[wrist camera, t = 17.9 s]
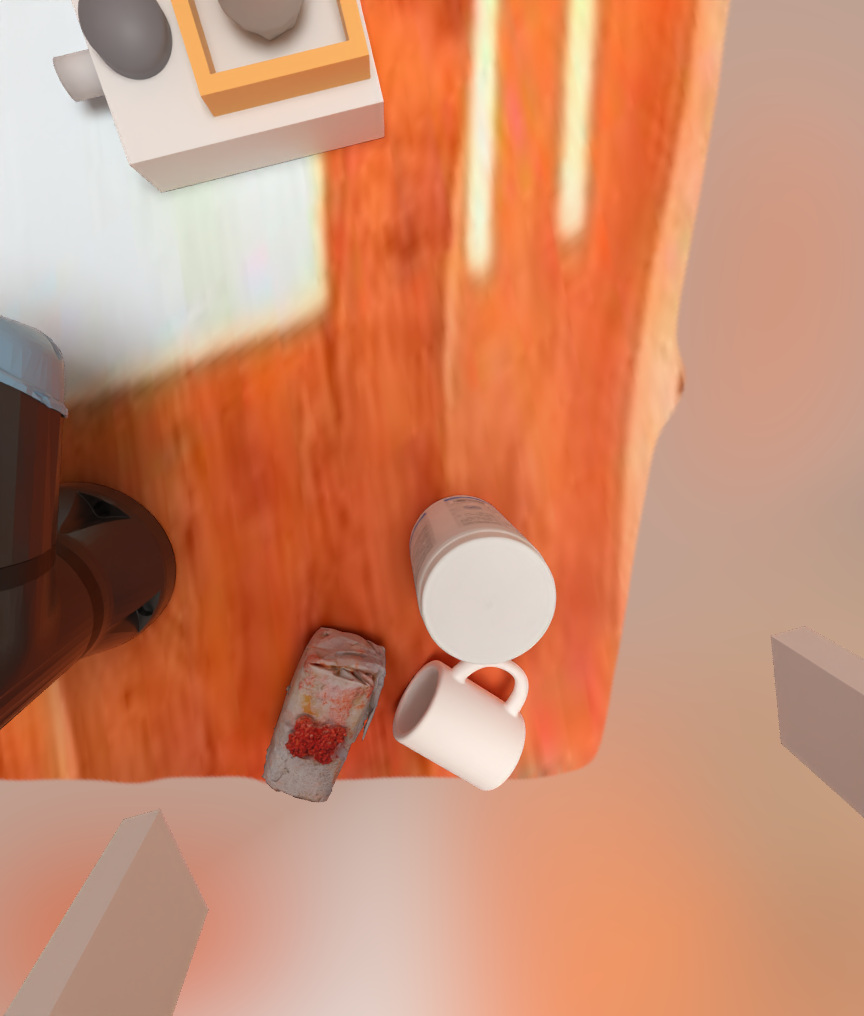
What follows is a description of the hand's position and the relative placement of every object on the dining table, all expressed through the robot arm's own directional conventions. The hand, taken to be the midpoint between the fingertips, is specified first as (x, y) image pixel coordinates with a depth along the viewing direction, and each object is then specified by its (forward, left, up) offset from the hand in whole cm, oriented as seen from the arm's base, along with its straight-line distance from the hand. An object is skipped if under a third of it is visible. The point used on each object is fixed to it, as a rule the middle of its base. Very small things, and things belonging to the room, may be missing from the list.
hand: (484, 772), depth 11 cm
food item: (-13, -18, -37) cm, 43 cm away
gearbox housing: (-6, +34, -37) cm, 50 cm away
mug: (0, -22, -37) cm, 43 cm away
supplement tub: (+3, -7, -37) cm, 38 cm away
